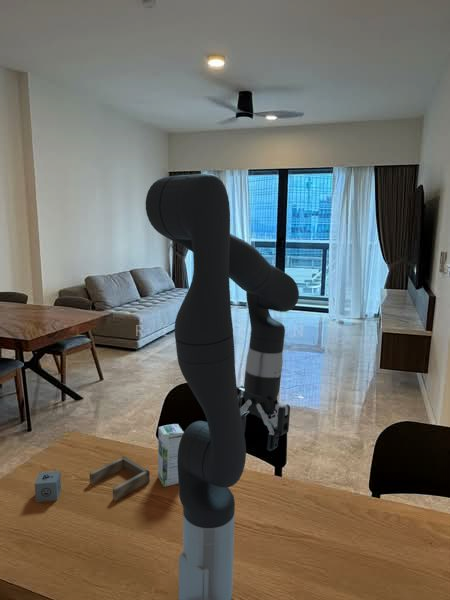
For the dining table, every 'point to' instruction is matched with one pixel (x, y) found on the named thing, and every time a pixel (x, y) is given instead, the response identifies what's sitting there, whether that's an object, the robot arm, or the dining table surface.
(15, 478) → the dining table surface
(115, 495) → the frame
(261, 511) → the dining table surface
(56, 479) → the dice cube
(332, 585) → the dining table surface
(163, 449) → the syrup box
